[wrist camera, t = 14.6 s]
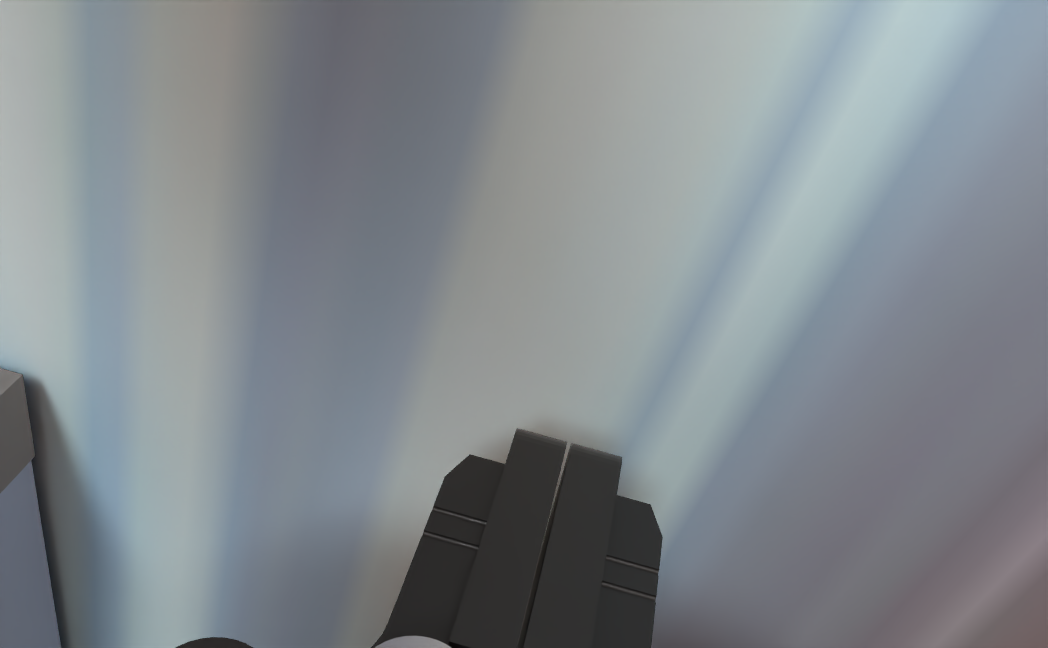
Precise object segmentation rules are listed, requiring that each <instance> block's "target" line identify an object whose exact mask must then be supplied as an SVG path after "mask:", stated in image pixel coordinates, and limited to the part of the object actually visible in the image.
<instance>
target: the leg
mask: <svg viewBox="0 0 1048 648" xmlns="http://www.w3.org/2000/svg"><path fill="white" fill-rule="evenodd" d="M34 457H35V451H34V445H33V438H32V432H31V425H30V419H29V412H28V406H27V400H26V393H25V387H24V380H23V375H22V374H19V373H15V372H12V371H8V370H5V369H1V368H0V648H61V643H60V637H59V631H58V624H57V618H56V612H55V606H54V599H53V593H52V587H51V581H50V574H49V568H48V562H47V556H46V550H45V543H44V537H43V531H42V525H41V518H40V512H39V506H38V500H37V493H36V487H35V481H34V475H33V468H32V462H31V460H32V459H33V458H34Z"/></svg>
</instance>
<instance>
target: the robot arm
mask: <svg viewBox="0 0 1048 648" xmlns="http://www.w3.org/2000/svg"><path fill="white" fill-rule="evenodd" d="M566 445H567V442H565V441H561V440H558V439H554V438H551V437H547V436H543V435H540V434H536V433H533V432H529V431H525V430H522V429H518V428H517V430H516V432H515V435H514V438H513V441H512V445H511V448H510V451H509V454H508V457H507V460H506V463H505V464H502V463H499V462H495V461H492V460H488V459H484V458H481V457H477V456H474V455H469V456H468V457H466V458H465V459H464V460H463V461H462V462H461V463H460V464H458V465H457V466H456V467H455V468H454V469H453V470H452V471H451V472H449V473H448V474H447V475H446V476H445V478H444V480H443V483H442V485H441V488H440V491H439V493H438V496H437V498H436V501H435V503H434V506H433V510H432V512H431V514H430V516H429V519H428V521H427V524H426V527H425V529H424V533H423V536H422V537H421V539H420V542H419V545H418V547H417V550H416V552H415V555H414V557H413V560H412V563H411V565H410V568H409V570H408V573H407V575H406V578H405V581H404V583H403V586H402V588H401V591H400V593H399V596H398V599H397V601H396V604H395V606H394V609H393V611H392V614H391V617H390V619H389V622H388V624H387V626H386V628H385V630H384V632H383V634H382V635H381V637H380V638H379V639H378V641H377V642H376V643H375V644H374V645H373V646H372V647H371V648H651V642H652V632H653V623H654V613H655V604H656V603H655V598H656V594H657V585H658V571H659V566H660V556H661V547H662V534H661V532H660V529H659V526H658V524H657V521H656V518H655V516H654V513H653V510H652V507H651V505H650V504H647V503H643V502H639V501H636V500H632V499H629V498H625V497H621V496H618V495H617V489H618V483H619V477H620V471H621V465H622V457H620V456H617V455H613V454H609V453H606V452H602V451H599V450H595V449H591V448H588V447H584V446H580V445H577V444H573V443H571V446H570V449H569V452H568V456H567V459H566V463H565V466H564V470H563V473H562V477H561V480H560V484H559V487H558V490H557V494H556V497H555V501H554V504H553V508H552V511H551V515H550V518H549V514H550V510H551V506H552V502H553V498H554V494H555V490H556V486H557V482H558V478H559V474H560V470H561V465H562V461H563V457H564V453H565V449H566ZM548 518H549V522H548ZM547 523H548V525H547ZM546 527H547V529H546ZM545 531H546V532H545ZM544 535H545V536H544ZM543 539H544V540H543ZM542 543H543V544H542ZM541 547H542V548H541ZM176 648H253V647H251V646H249V645H247V644H246V643H243V642H240V641H237V640H234V639H229V638H219V637H211V638H202V639H198V640H194V641H190V642H187V643H185V644H182V645H180V646H178V647H176Z"/></svg>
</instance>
